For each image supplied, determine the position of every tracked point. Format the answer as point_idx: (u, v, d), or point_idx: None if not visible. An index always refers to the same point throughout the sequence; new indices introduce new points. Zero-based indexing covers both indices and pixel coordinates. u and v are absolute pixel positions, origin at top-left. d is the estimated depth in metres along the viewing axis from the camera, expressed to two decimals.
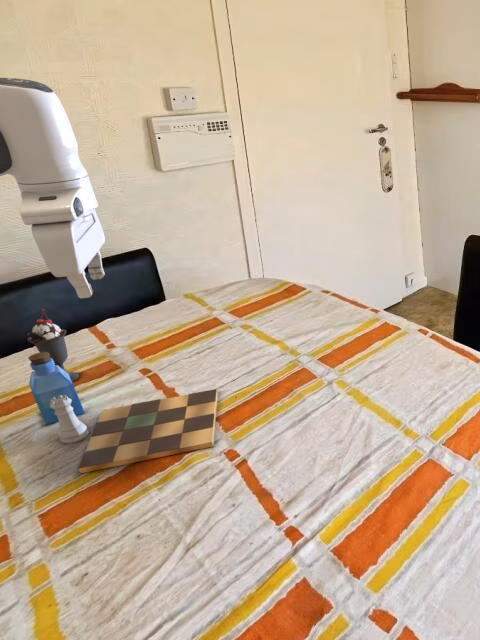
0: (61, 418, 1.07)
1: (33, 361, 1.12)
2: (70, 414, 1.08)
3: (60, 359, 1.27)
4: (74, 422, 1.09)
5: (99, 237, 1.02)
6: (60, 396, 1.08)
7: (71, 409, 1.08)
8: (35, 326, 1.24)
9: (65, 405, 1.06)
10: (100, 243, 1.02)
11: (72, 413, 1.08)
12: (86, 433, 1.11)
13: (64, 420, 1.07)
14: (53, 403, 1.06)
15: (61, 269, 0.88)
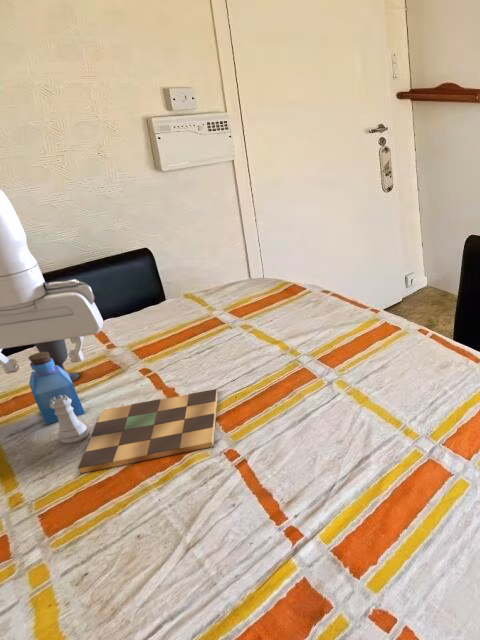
0: (61, 418, 1.07)
1: (33, 361, 1.12)
2: (70, 414, 1.08)
3: (60, 359, 1.27)
4: (74, 422, 1.09)
5: (69, 329, 1.01)
6: (60, 396, 1.08)
7: (71, 409, 1.08)
8: None
9: (65, 405, 1.06)
10: (66, 334, 1.01)
11: (72, 413, 1.08)
12: (86, 433, 1.11)
13: (64, 420, 1.07)
14: (53, 403, 1.06)
15: None
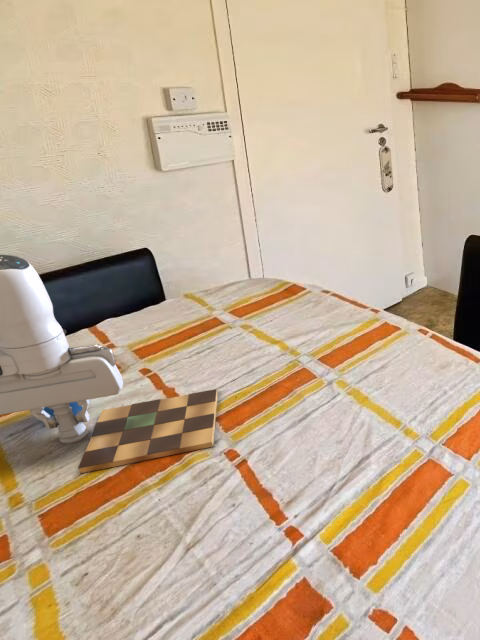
0: (60, 418, 1.07)
1: None
2: (69, 414, 1.08)
3: None
4: (73, 422, 1.09)
5: (92, 390, 1.07)
6: None
7: (70, 409, 1.08)
8: None
9: (64, 405, 1.06)
10: (89, 395, 1.07)
11: (71, 413, 1.08)
12: (86, 433, 1.11)
13: (63, 420, 1.07)
14: None
15: None
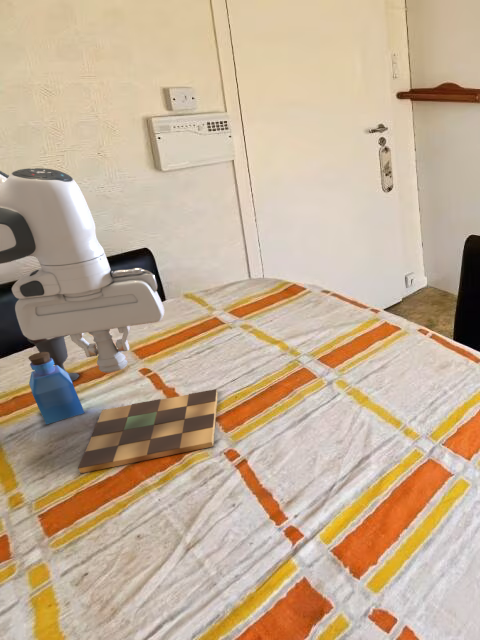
0: (100, 345, 1.04)
1: (33, 361, 1.12)
2: (109, 341, 1.05)
3: (60, 359, 1.27)
4: (113, 350, 1.05)
5: (134, 316, 1.03)
6: None
7: (110, 336, 1.05)
8: None
9: (104, 331, 1.03)
10: (130, 322, 1.03)
11: (111, 341, 1.05)
12: (125, 362, 1.07)
13: (103, 347, 1.04)
14: None
15: None
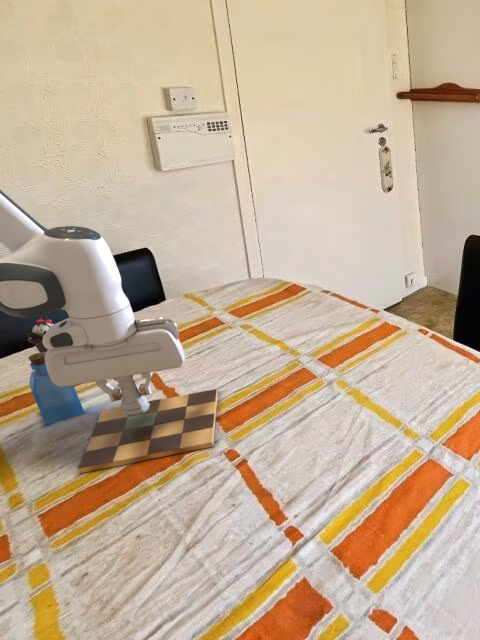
0: (124, 390, 1.08)
1: (33, 361, 1.12)
2: (133, 386, 1.09)
3: None
4: (137, 395, 1.10)
5: (156, 363, 1.08)
6: None
7: (133, 381, 1.09)
8: (35, 326, 1.24)
9: (128, 377, 1.08)
10: (153, 368, 1.08)
11: (134, 385, 1.09)
12: (148, 405, 1.12)
13: (127, 392, 1.09)
14: None
15: None
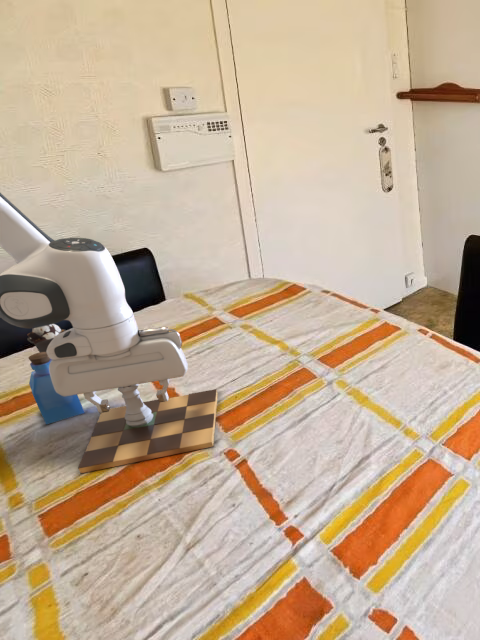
0: (128, 401, 1.10)
1: (33, 361, 1.12)
2: (137, 398, 1.10)
3: None
4: (140, 406, 1.11)
5: (159, 372, 1.09)
6: None
7: (138, 393, 1.10)
8: None
9: (133, 389, 1.09)
10: (156, 377, 1.09)
11: (138, 397, 1.11)
12: (151, 416, 1.13)
13: (131, 403, 1.10)
14: (121, 387, 1.08)
15: None
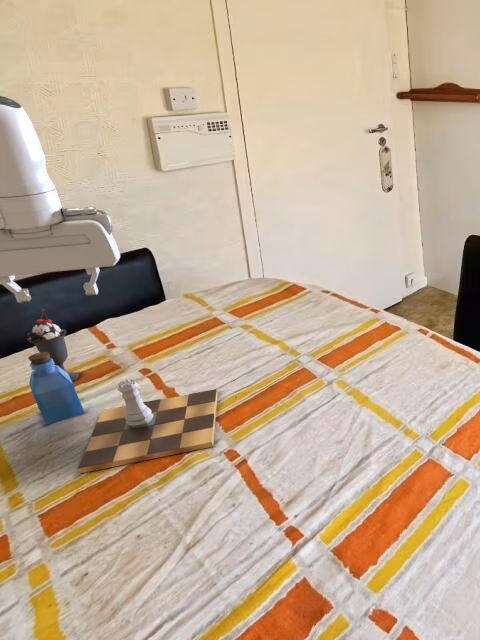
0: (128, 401, 1.10)
1: (33, 361, 1.12)
2: (137, 398, 1.10)
3: (60, 359, 1.27)
4: (140, 406, 1.11)
5: (86, 258, 0.98)
6: (127, 380, 1.10)
7: (138, 393, 1.10)
8: (35, 326, 1.24)
9: (133, 389, 1.09)
10: (82, 264, 0.98)
11: (138, 397, 1.11)
12: (151, 416, 1.13)
13: (131, 403, 1.10)
14: (121, 387, 1.08)
15: None
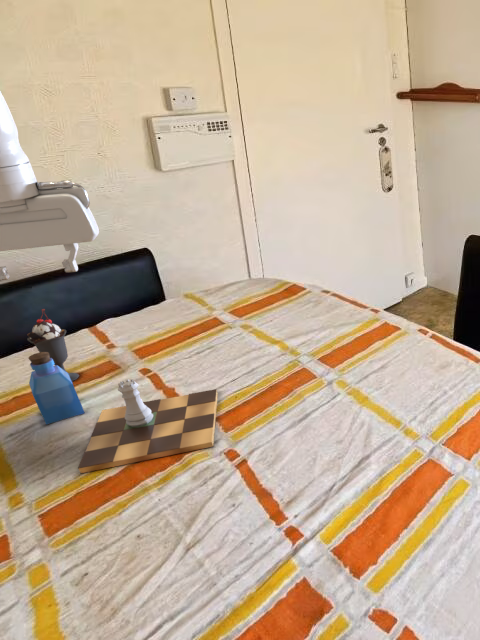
0: (128, 401, 1.10)
1: (33, 361, 1.12)
2: (137, 398, 1.10)
3: (60, 359, 1.27)
4: (140, 406, 1.11)
5: (63, 234, 0.96)
6: (127, 380, 1.10)
7: (138, 393, 1.10)
8: (35, 326, 1.24)
9: (133, 389, 1.09)
10: (60, 240, 0.96)
11: (138, 397, 1.11)
12: (151, 416, 1.13)
13: (131, 403, 1.10)
14: (121, 387, 1.08)
15: None
